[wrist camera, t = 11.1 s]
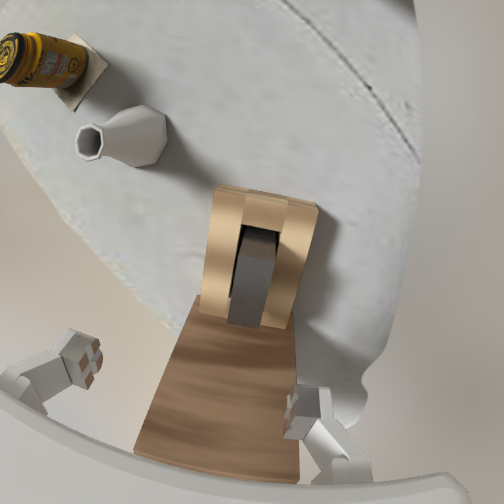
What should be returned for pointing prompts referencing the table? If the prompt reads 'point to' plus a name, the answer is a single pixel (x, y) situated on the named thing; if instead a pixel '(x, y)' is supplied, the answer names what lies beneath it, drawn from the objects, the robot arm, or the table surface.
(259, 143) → the table surface
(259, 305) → the brushed steel bar
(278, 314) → the tan slotted wooden fixture
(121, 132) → the flask
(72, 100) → the condiment
